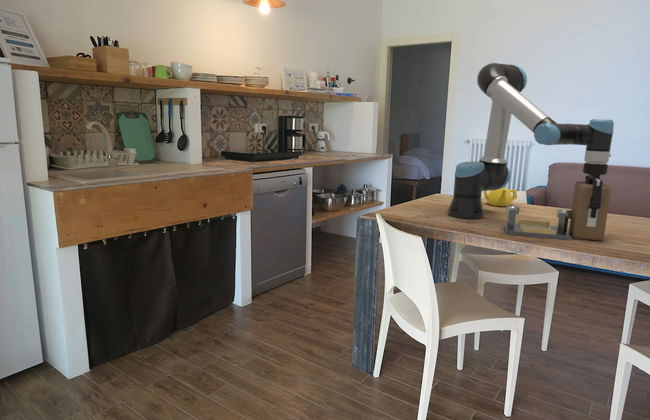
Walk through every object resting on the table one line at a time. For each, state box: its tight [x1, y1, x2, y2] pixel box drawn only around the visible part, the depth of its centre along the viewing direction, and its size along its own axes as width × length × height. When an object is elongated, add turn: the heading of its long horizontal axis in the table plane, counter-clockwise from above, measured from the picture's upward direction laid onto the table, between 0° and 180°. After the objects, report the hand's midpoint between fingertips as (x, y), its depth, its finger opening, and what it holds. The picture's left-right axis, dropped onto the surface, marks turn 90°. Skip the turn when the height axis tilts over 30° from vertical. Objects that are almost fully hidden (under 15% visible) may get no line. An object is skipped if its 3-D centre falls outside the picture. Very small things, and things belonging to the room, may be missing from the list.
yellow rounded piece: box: [483, 187, 518, 207], centre depth 228 cm, size 14×13×10 cm
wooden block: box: [568, 181, 612, 241], centre depth 168 cm, size 10×10×20 cm
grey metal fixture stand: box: [503, 205, 573, 241], centre depth 174 cm, size 22×15×10 cm
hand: (587, 223), depth 169 cm, fingers closed on wooden block, 10 cm apart
